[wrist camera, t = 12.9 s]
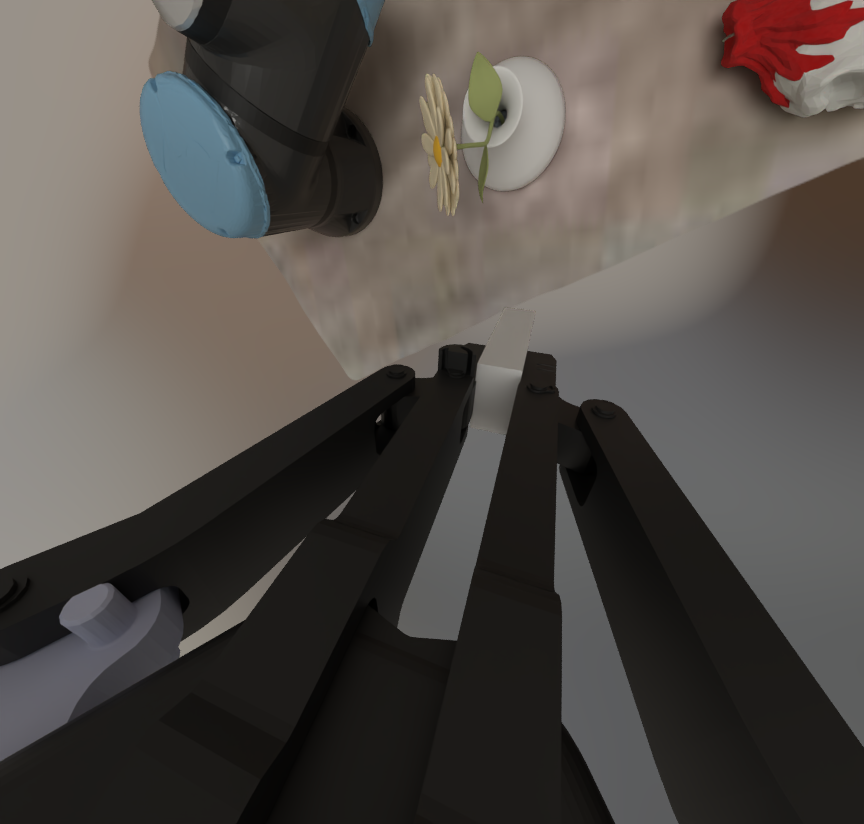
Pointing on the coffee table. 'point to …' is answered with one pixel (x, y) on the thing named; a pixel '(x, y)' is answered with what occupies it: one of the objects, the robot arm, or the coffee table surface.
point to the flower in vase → (494, 127)
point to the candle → (800, 51)
